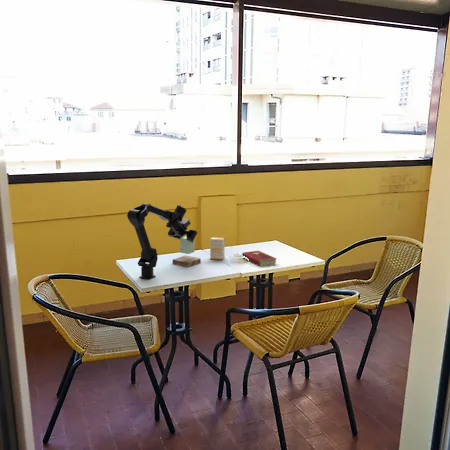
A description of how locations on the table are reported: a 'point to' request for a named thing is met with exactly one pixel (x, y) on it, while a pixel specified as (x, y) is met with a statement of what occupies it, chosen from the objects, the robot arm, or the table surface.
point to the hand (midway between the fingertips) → (188, 241)
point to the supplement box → (217, 248)
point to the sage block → (186, 246)
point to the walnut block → (186, 261)
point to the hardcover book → (259, 258)
